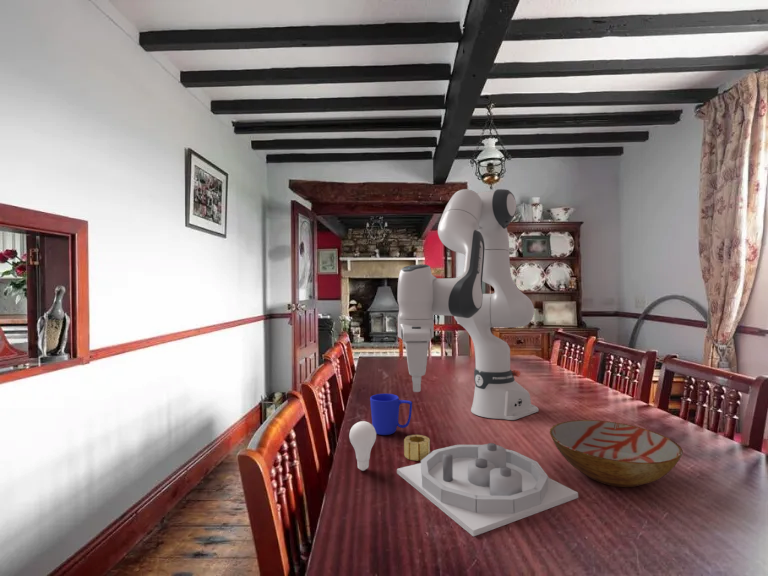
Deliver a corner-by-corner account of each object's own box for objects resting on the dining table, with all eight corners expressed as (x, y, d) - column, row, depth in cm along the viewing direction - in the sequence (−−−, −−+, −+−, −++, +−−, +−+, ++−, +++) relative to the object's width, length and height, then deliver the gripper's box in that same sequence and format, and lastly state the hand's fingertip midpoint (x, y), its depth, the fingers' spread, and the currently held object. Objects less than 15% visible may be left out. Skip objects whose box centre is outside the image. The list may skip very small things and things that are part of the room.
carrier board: (487, 450, 102) (486, 426, 102) (578, 497, 79) (577, 467, 79) (397, 473, 90) (396, 446, 90) (473, 536, 67) (472, 500, 67)
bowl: (690, 520, 71) (689, 474, 71) (539, 484, 85) (539, 446, 85) (677, 466, 93) (677, 431, 93) (559, 444, 106) (559, 413, 106)
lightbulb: (349, 465, 95) (349, 418, 95) (375, 463, 95) (375, 417, 95) (349, 477, 89) (349, 427, 89) (377, 475, 89) (377, 425, 89)
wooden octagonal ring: (420, 448, 104) (420, 433, 104) (434, 457, 98) (433, 441, 98) (400, 453, 101) (400, 437, 101) (412, 462, 96) (412, 445, 96)
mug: (410, 439, 110) (410, 402, 110) (367, 436, 113) (367, 400, 113) (414, 428, 119) (413, 394, 119) (374, 426, 121) (373, 392, 121)
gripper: (402, 326, 110) (403, 377, 110) (402, 334, 90) (403, 397, 90) (426, 326, 110) (426, 377, 110) (431, 334, 89) (431, 397, 89)
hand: (416, 386), depth 100 cm, fingers open, 8 cm apart
